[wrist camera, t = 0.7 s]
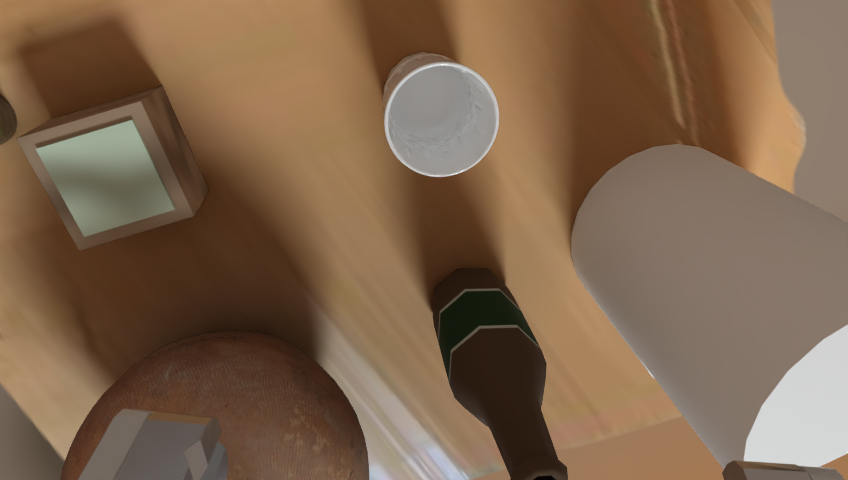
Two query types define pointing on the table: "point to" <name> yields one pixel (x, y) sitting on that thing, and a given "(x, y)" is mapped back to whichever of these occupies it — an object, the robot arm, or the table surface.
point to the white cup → (438, 114)
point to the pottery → (241, 407)
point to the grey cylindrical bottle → (6, 121)
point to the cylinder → (725, 300)
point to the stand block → (116, 168)
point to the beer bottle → (496, 369)
